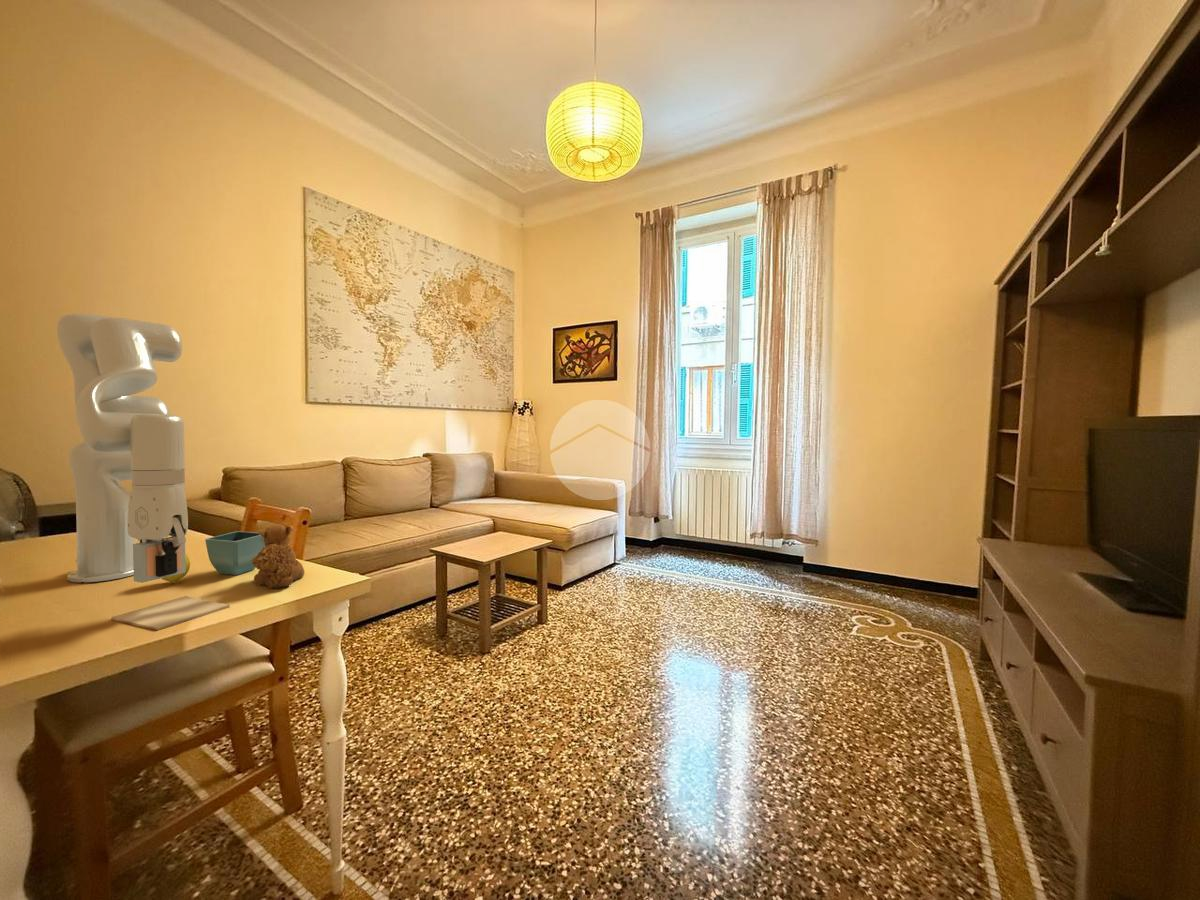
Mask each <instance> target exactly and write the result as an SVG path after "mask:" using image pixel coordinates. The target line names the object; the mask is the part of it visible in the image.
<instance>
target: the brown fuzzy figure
mask: <svg viewBox="0 0 1200 900" xmlns="http://www.w3.org/2000/svg"><path fill="white" fill-rule="evenodd" d="M293 529H294V528H293V526H292V525H288V526H285V525H283V524H273V525H271V526H269V527H267V528H266V529H259V530H257V533H258V534H260V535H261V536H262V537H263V538H264V540H263V542H264V543H265V547H263V549H262V550H261V551H260V552H259V553H258V554H257V556H255V557H254V558H253V559H252V560H251V562H252V563H253V566H255V567H256V568H255V569H257V570H258V572H257V573H256V574H255V575H254V576H253V582H254V584H256V585H257V584H259V585H258V586H268V587H270V588H271V587H272V588H271V589H277V587H279V588H286V587H285V586H288V587H290V586H291V585H292V584H293V582H295V581H297V580H296V579H298V578H300V579H302V578H303V577H304V575H305V569H304V567H303V564H302V563H301V562H300V561H299V560H297V554H296V552H295V550H294V549H293V548H292V547H291V546H290V544H289V543H290V540H291V539H290V534H291V532H292V530H293ZM263 538H262V539H263ZM262 539H261V540H262ZM261 540H260V541H261ZM253 566H252V567H253ZM301 577H302V578H301ZM294 580H295V581H294ZM298 580H299V579H298ZM289 585H290V586H289Z"/></svg>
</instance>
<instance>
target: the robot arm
mask: <svg viewBox="0 0 1200 900" xmlns="http://www.w3.org/2000/svg"><path fill="white" fill-rule="evenodd" d="M56 334H57V341H58V344H59V347H60V350H61V352H62V354H63V356H64V358H65V360H66V362H67V363H68V365H69V367H70V370H71V371H72V376H73V389H74V391H73V392H74V405H75V406H74V407H75V415H76V416H75V417H76V422H77V425H78V428H79V430H80V435H81V438H82V440H83V441H82V442H80V443H78V444H76V445H73V447H72V448H71V450H70V451H69V453H68V462H69V468H70V472H71V475H72V480H73V485H74V492H75V493H74V494H75V515H76V517H75V518H76V555H77V557H76V560H75V562H76V563H77V566H76V567H77V570H74V571H71V572H70V573H69V574H67V581H68V580H69V581H68V582H70V581H71V582H72V583H81V582H84V583H95V582H96V583H97V582H104V581H112V580H117V579H118V580H119V579H122V578H123V579H124V578H128V577H131V576H134V572H133V544H136V540H137V541H139V543H142V542H148V541H157V545H158V555H159V556H155V559H156V576H157V577H162V576H166V575H170V574H174V573H176V572H177V553H178V552H179V547H180V545H182V544H183V543H185V544H186V542H187V538H186V536H187V535H186V534H188V530H189V528H188V527H189V517H188V515H189V514H188V503H187V502H188V501H187V496H186V491H185V486H186V471H185V470H186V469H185V468H186V467H185V466H186V465H185V458H186V457H185V424H184V423H185V422H184V421H183V419H182V417H181V416H179V415H175V414H170V410H169V407H168V406H167V404H166V402H164V401H163V400H162V399H160V398H158V397H153V396H148V395H147V396H145V395H135V394H138V393H141V392H144V391H147V390H149V389H150V388H152V387H153V386H155V385H156V383H157V381H158V374H157V370H156V368H155V363H154V361H155V362H165V363H175V362H176V361H178V360H179V359H180V358H181V356H182V353H183V341H182V338H181V337H180V335H179V333H178V332H177V330H176V329H175V328H174V327H172V326H170V325H168V324H164V323H156V322H150V321H143V320H137V319H130V318H122V317H112V316H106V315H99V314H91V313H68V314H65V315H62V316H61V317H59V320H58V321H57V325H56ZM122 481H123V482H125V481H131V487H130V488H131V489H130V491H129V490H128V489H126V488H125V487H123V486H122V485H121V484H120V482H122ZM185 535H186V536H185ZM167 541H171V542H167ZM165 542H167V544H166V545H165ZM71 582H70V583H71Z"/></svg>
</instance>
